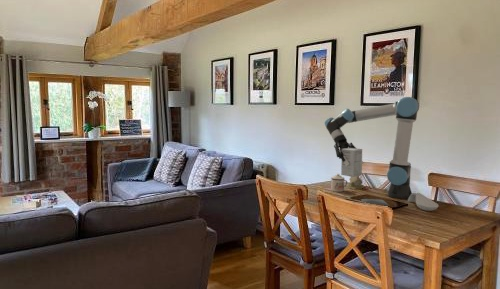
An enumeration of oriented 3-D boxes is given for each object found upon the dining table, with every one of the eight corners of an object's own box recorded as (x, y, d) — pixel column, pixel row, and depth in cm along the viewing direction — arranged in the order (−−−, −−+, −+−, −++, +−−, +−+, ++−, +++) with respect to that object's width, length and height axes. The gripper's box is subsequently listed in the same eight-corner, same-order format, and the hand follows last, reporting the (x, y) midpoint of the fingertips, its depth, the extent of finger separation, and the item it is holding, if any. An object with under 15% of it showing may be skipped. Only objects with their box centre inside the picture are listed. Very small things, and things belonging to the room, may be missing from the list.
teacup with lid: (334, 192, 259) (335, 175, 258) (328, 189, 268) (329, 173, 267) (350, 191, 262) (351, 174, 261) (343, 188, 271) (344, 172, 270)
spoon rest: (442, 212, 214) (443, 200, 213) (422, 213, 212) (423, 200, 212) (419, 202, 237) (420, 190, 236) (401, 202, 236) (402, 190, 235)
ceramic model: (366, 189, 271) (366, 175, 270) (350, 189, 270) (351, 175, 269) (358, 185, 285) (359, 172, 284) (344, 185, 284) (344, 172, 283)
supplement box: (349, 173, 246) (350, 147, 245) (362, 175, 239) (362, 148, 238) (340, 175, 240) (341, 148, 239) (352, 177, 233) (353, 149, 232)
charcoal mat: (382, 201, 236) (382, 199, 236) (388, 207, 223) (389, 205, 223) (361, 200, 236) (361, 199, 236) (366, 206, 224) (366, 204, 223)
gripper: (349, 141, 257) (365, 167, 244) (322, 142, 246) (337, 169, 234) (355, 133, 252) (372, 159, 239) (327, 134, 241) (343, 162, 229)
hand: (354, 164), depth 237 cm, fingers closed on supplement box, 11 cm apart
